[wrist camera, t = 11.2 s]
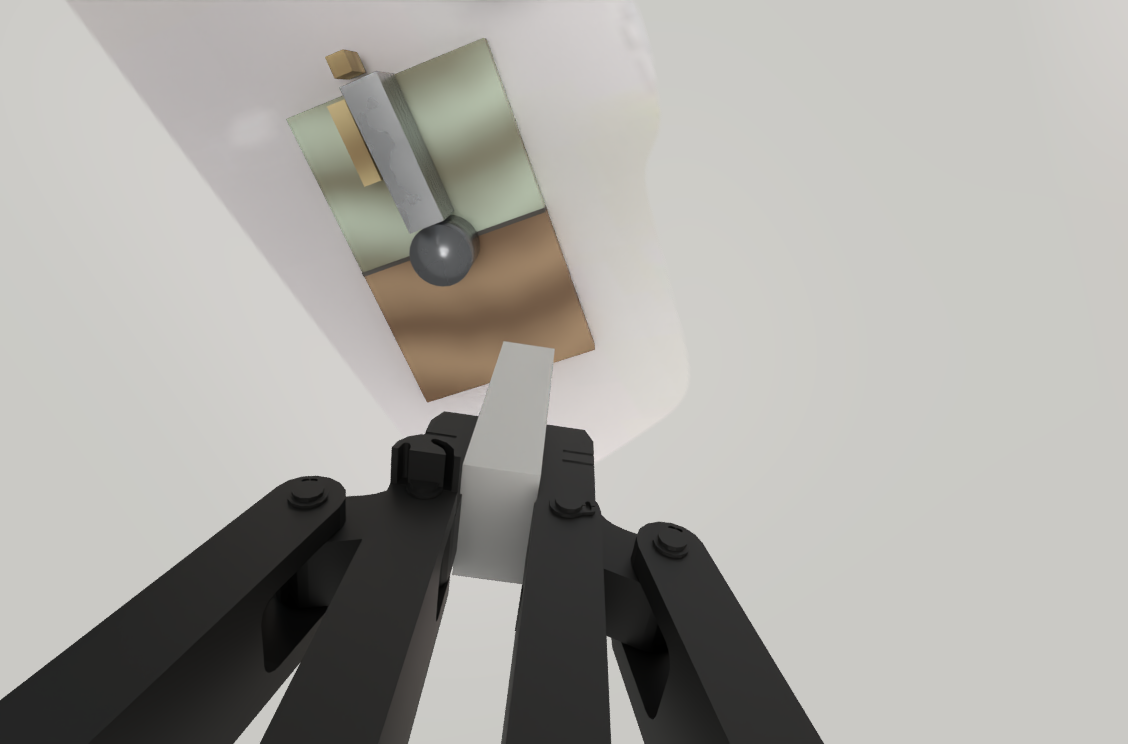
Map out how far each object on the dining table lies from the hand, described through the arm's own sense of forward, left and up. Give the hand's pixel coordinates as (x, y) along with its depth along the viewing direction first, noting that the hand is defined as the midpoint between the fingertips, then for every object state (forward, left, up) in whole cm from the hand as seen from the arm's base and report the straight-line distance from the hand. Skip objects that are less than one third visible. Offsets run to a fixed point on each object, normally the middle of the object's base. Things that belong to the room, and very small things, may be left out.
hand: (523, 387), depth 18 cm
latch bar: (-5, -7, -26) cm, 28 cm away
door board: (-1, -7, -28) cm, 28 cm away
